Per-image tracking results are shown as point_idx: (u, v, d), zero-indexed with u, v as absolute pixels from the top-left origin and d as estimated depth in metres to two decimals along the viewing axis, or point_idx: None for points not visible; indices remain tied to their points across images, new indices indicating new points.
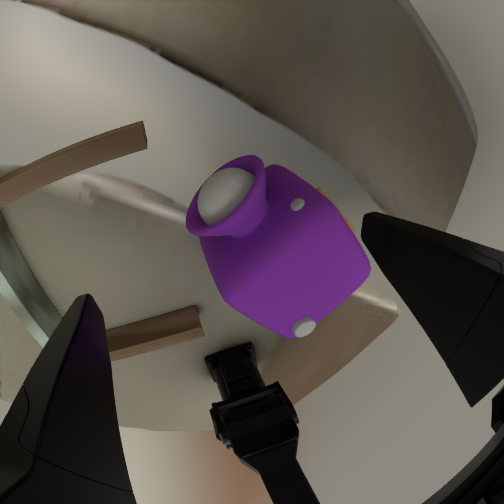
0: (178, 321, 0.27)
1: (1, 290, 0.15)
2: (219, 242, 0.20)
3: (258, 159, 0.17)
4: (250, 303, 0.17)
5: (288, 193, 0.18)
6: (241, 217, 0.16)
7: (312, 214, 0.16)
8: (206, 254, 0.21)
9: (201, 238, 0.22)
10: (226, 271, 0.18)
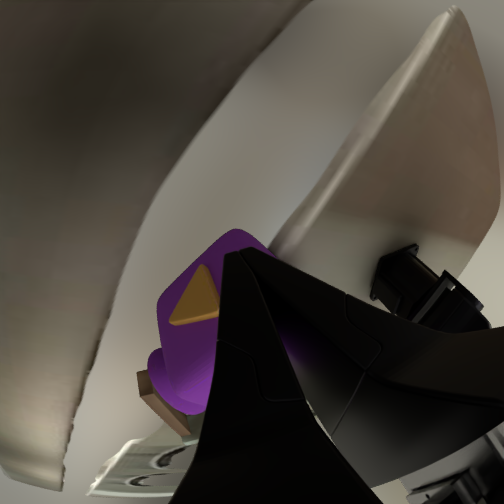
0: None
1: None
2: None
3: (149, 374, 0.19)
4: None
5: None
6: (192, 409, 0.18)
7: None
8: None
9: None
10: None
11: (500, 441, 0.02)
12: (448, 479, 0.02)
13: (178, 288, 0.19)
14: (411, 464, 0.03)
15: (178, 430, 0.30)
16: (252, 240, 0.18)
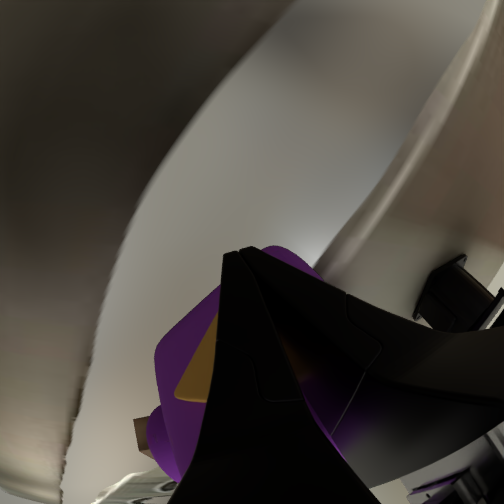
0: None
1: None
2: None
3: (149, 446, 0.12)
4: None
5: None
6: None
7: None
8: None
9: None
10: None
11: (500, 441, 0.02)
12: (448, 479, 0.02)
13: (186, 339, 0.12)
14: (412, 464, 0.03)
15: None
16: (303, 266, 0.11)
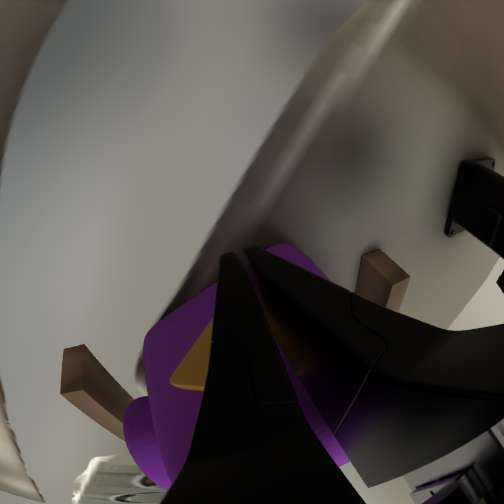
0: (371, 295, 0.17)
1: None
2: None
3: (125, 439, 0.11)
4: None
5: None
6: None
7: None
8: None
9: None
10: None
11: None
12: (452, 475, 0.02)
13: (186, 326, 0.11)
14: (416, 460, 0.03)
15: None
16: (315, 265, 0.12)
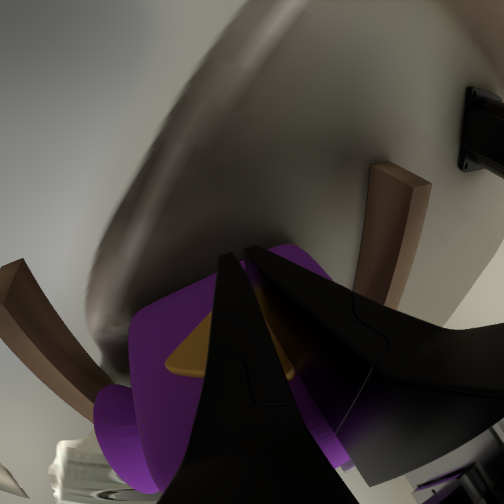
0: (386, 213, 0.13)
1: None
2: None
3: (94, 427, 0.09)
4: None
5: None
6: (153, 488, 0.09)
7: None
8: None
9: None
10: None
11: None
12: (454, 474, 0.02)
13: (184, 310, 0.11)
14: (418, 459, 0.03)
15: None
16: None
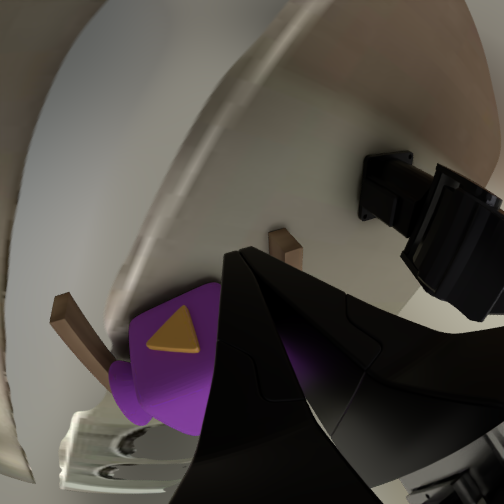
0: None
1: None
2: None
3: (109, 382, 0.19)
4: None
5: None
6: (139, 420, 0.19)
7: None
8: None
9: None
10: None
11: (500, 441, 0.02)
12: (448, 480, 0.02)
13: (156, 318, 0.21)
14: (411, 464, 0.03)
15: None
16: None
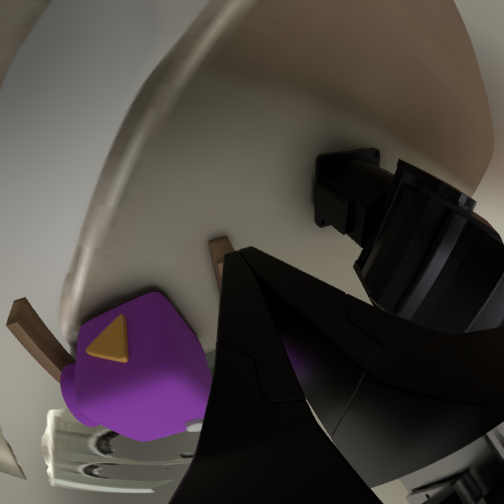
0: (217, 274, 0.22)
1: None
2: None
3: (60, 383, 0.18)
4: (145, 440, 0.19)
5: None
6: (88, 421, 0.18)
7: None
8: None
9: None
10: None
11: (500, 441, 0.02)
12: (448, 479, 0.02)
13: (99, 325, 0.20)
14: (411, 464, 0.03)
15: None
16: (167, 308, 0.21)
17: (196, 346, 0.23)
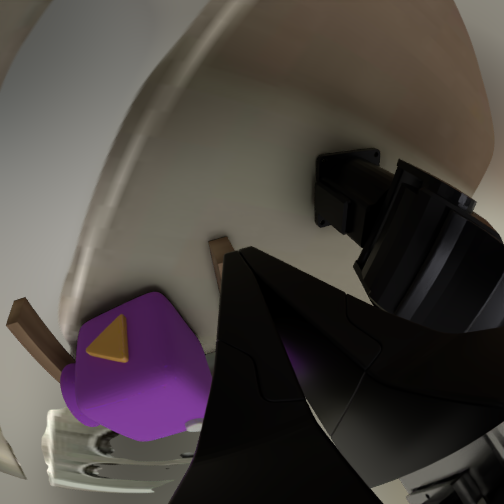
0: (217, 274, 0.22)
1: None
2: None
3: (60, 383, 0.18)
4: (145, 440, 0.19)
5: None
6: (88, 421, 0.18)
7: None
8: None
9: None
10: None
11: (500, 441, 0.02)
12: (448, 480, 0.02)
13: (99, 325, 0.20)
14: (411, 464, 0.03)
15: None
16: (167, 308, 0.21)
17: (196, 346, 0.23)
